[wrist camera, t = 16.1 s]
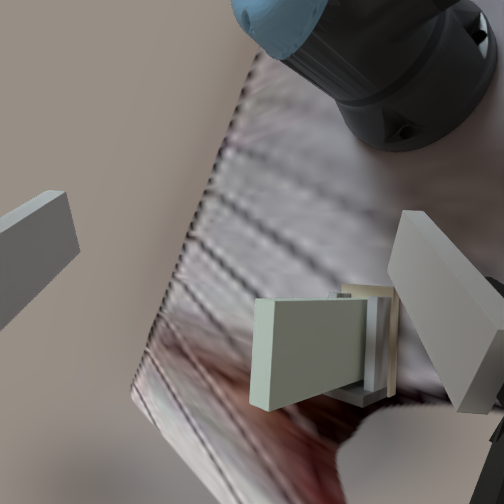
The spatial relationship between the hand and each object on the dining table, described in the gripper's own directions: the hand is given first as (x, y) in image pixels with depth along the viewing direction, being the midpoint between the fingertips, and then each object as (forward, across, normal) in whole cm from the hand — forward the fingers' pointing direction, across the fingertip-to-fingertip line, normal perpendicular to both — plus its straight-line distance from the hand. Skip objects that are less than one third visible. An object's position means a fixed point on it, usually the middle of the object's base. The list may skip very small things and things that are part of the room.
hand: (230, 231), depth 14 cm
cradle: (+17, +14, -20) cm, 30 cm away
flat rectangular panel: (+16, +12, -20) cm, 29 cm away
